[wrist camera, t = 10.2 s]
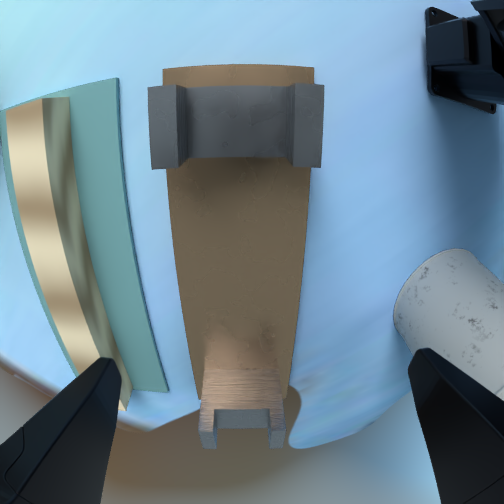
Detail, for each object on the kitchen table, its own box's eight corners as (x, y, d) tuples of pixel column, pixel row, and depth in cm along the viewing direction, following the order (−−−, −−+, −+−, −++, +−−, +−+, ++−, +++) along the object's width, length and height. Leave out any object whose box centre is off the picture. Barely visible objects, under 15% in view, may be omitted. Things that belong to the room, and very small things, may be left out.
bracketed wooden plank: (167, 71, 14) (121, 52, 8) (310, 69, 15) (351, 49, 8) (199, 391, 26) (193, 455, 20) (285, 390, 26) (293, 454, 20)
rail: (33, 106, 14) (5, 110, 11) (69, 96, 14) (42, 98, 11) (105, 383, 25) (97, 406, 23) (133, 386, 25) (126, 411, 23)
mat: (118, 78, 14) (116, 77, 14) (168, 389, 26) (168, 392, 26) (2, 111, 14) (-2, 111, 14) (79, 378, 26) (78, 381, 25)
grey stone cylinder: (481, 306, 23) (547, 393, 12) (403, 354, 25) (452, 461, 14) (476, 228, 19) (579, 318, 8) (381, 284, 21) (458, 418, 10)
